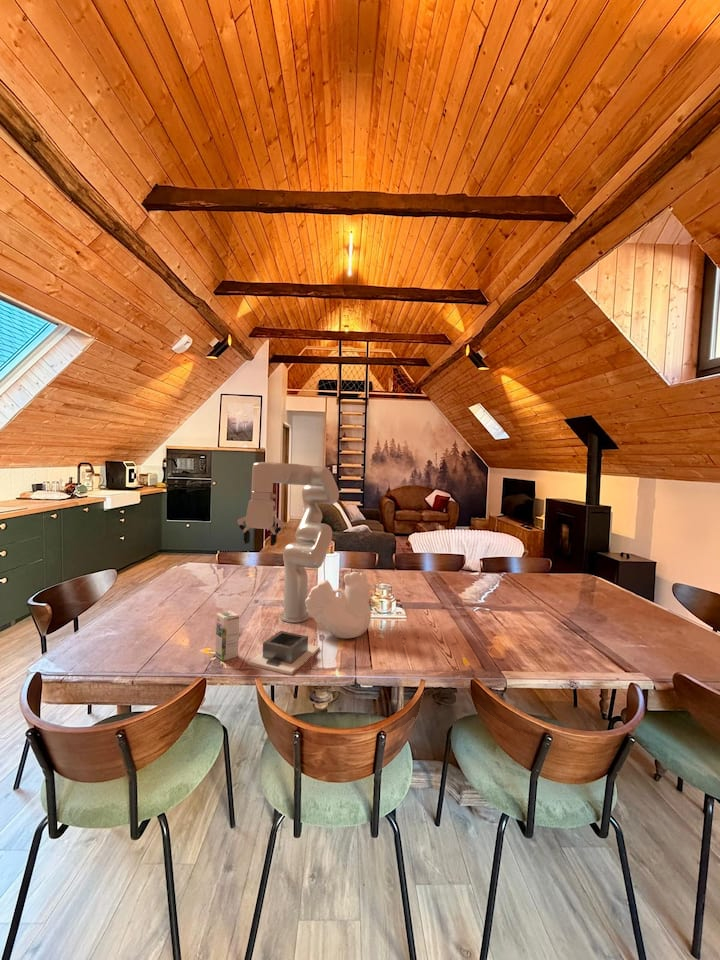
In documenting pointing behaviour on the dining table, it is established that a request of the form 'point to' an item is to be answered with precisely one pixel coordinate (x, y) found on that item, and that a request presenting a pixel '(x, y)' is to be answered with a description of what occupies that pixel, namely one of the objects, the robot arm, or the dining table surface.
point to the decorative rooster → (342, 606)
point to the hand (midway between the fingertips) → (259, 544)
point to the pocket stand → (284, 653)
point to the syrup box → (227, 635)
